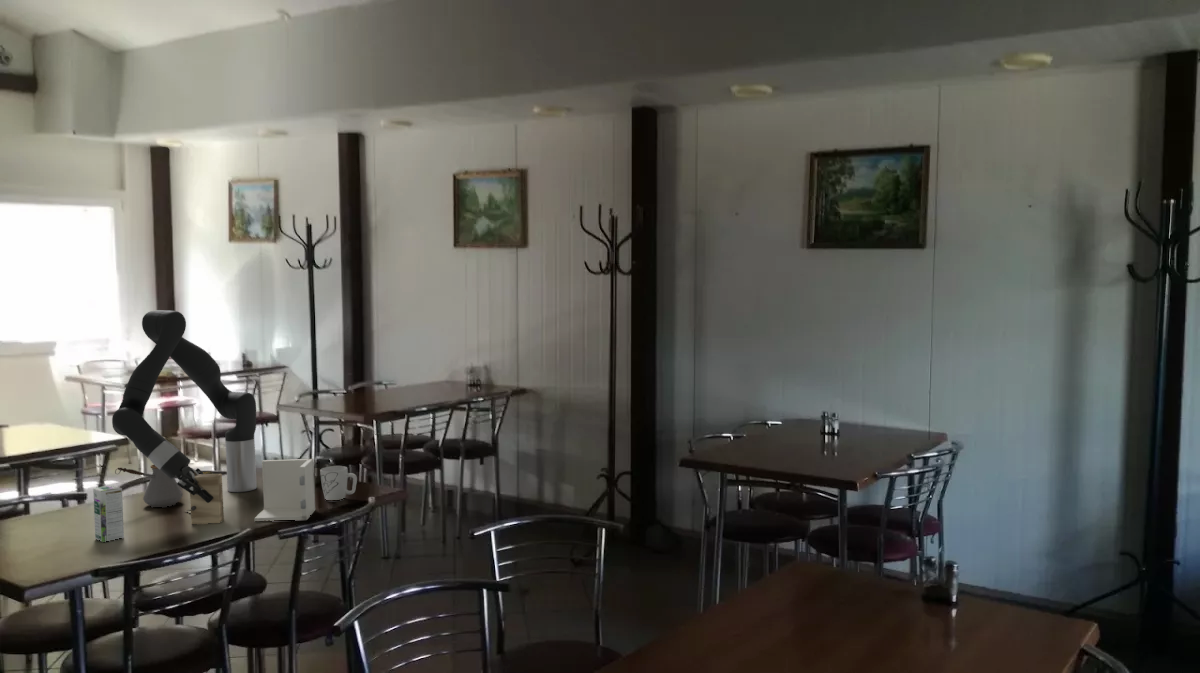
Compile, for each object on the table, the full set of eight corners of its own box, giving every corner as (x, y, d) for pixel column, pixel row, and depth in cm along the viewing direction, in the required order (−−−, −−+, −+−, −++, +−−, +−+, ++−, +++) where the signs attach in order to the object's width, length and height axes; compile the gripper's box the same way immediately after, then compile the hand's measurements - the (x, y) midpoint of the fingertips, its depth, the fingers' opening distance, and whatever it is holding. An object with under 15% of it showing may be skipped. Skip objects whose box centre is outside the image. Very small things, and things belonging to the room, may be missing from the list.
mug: (360, 495, 307) (359, 465, 306) (354, 501, 299) (353, 470, 298) (325, 496, 307) (324, 466, 306) (318, 502, 298) (317, 471, 298)
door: (196, 521, 278) (193, 474, 277) (223, 519, 279) (221, 473, 278) (190, 525, 273) (187, 478, 272) (218, 524, 274) (216, 477, 273)
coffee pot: (166, 499, 307) (164, 453, 306) (191, 502, 301) (188, 456, 300) (106, 514, 288) (104, 466, 287) (131, 518, 283) (128, 469, 281)
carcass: (265, 511, 288) (263, 460, 287) (315, 509, 289) (313, 458, 288) (253, 523, 275) (250, 469, 273) (305, 521, 276) (303, 467, 275)
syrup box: (94, 539, 261) (91, 488, 260) (116, 534, 265) (113, 484, 264) (103, 543, 257) (100, 491, 256) (125, 538, 261) (122, 487, 260)
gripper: (169, 455, 268) (214, 495, 270) (186, 445, 282) (229, 484, 284) (150, 474, 267) (196, 514, 269) (169, 463, 282) (212, 501, 284)
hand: (213, 498), depth 277 cm, fingers closed on door, 4 cm apart
